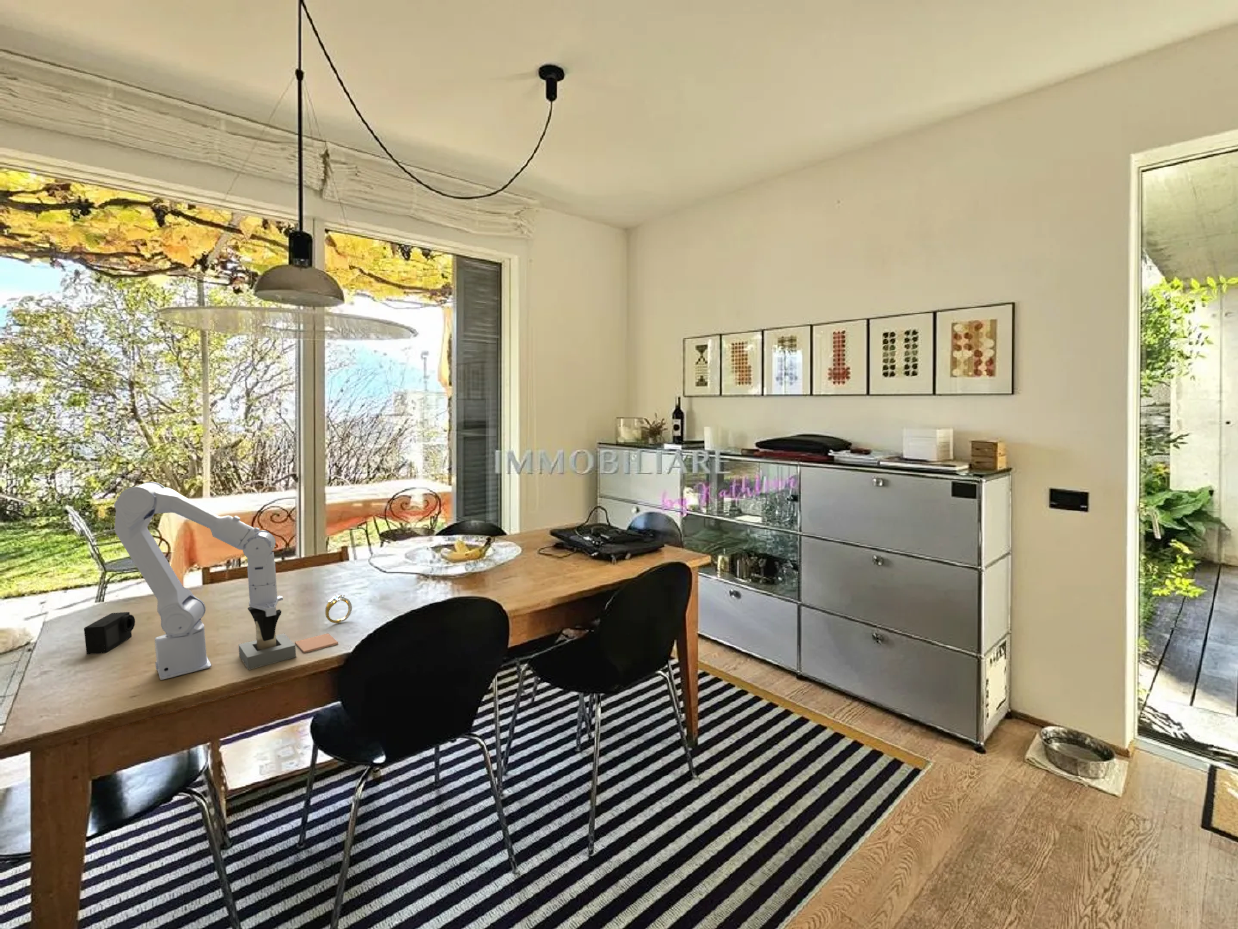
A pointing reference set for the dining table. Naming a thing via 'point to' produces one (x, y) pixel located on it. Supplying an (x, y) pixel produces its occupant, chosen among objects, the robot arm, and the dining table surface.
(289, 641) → the pocket block
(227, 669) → the dining table surface
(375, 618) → the dining table surface
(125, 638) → the digital camera
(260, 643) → the peg
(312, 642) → the pad
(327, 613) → the ring
